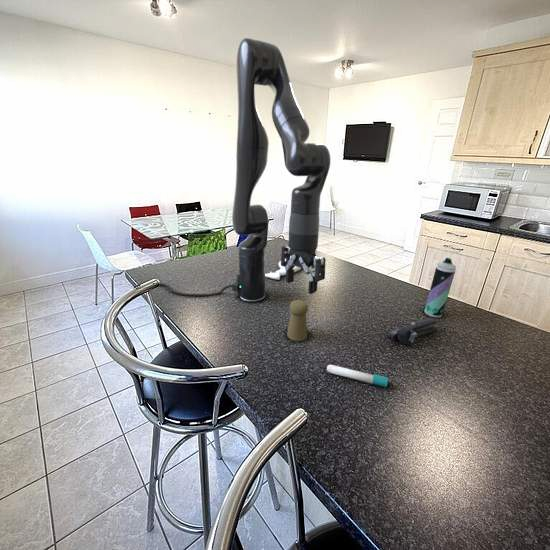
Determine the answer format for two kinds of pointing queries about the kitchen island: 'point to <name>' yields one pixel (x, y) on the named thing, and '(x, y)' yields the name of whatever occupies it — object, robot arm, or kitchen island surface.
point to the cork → (298, 321)
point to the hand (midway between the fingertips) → (300, 287)
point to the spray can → (440, 288)
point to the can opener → (412, 331)
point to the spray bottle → (280, 272)
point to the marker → (358, 375)
